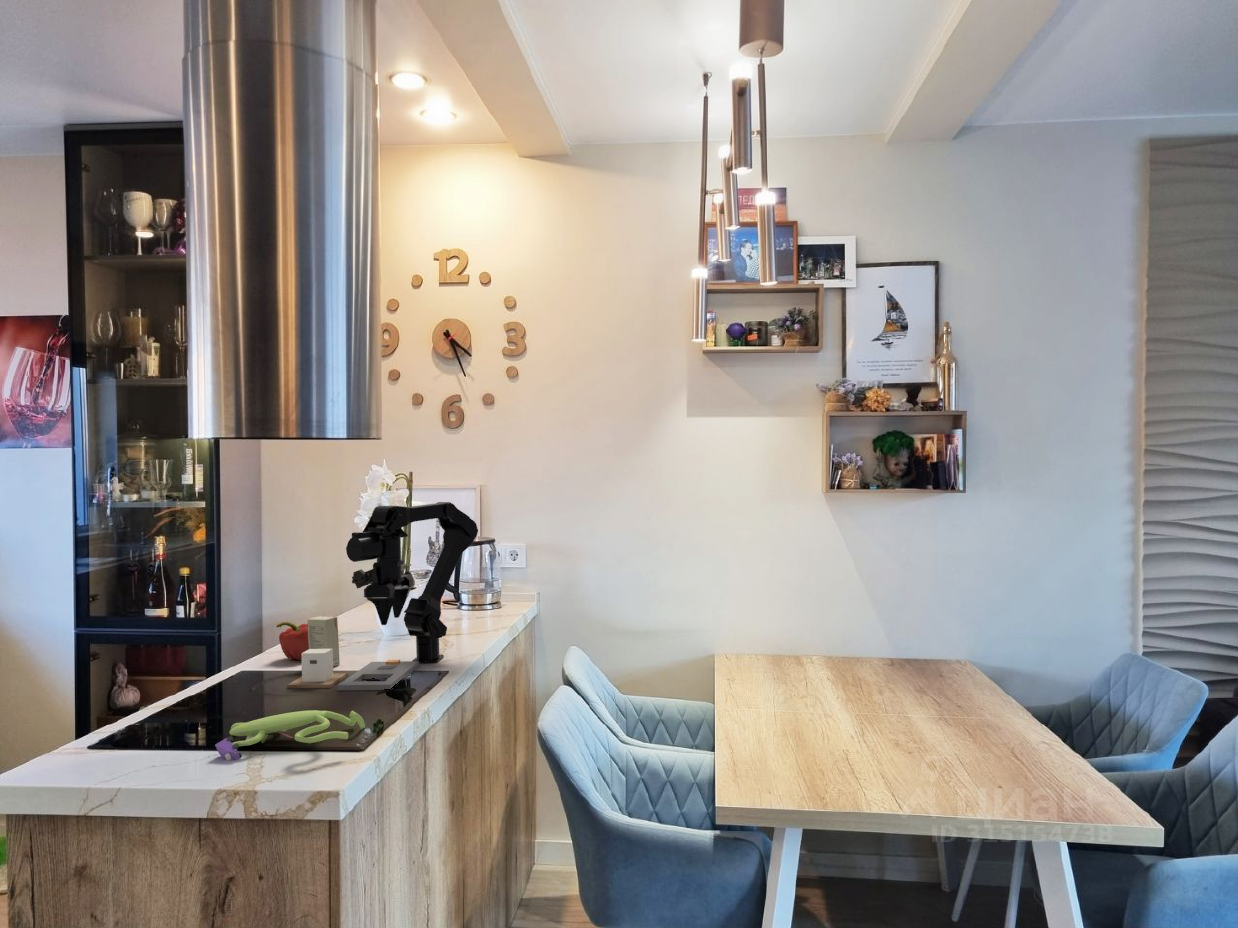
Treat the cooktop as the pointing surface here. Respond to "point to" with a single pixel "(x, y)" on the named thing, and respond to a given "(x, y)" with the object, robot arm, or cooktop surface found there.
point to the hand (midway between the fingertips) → (390, 621)
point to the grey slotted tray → (379, 675)
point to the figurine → (285, 729)
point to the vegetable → (294, 640)
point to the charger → (317, 665)
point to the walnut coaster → (322, 684)
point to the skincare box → (324, 635)
